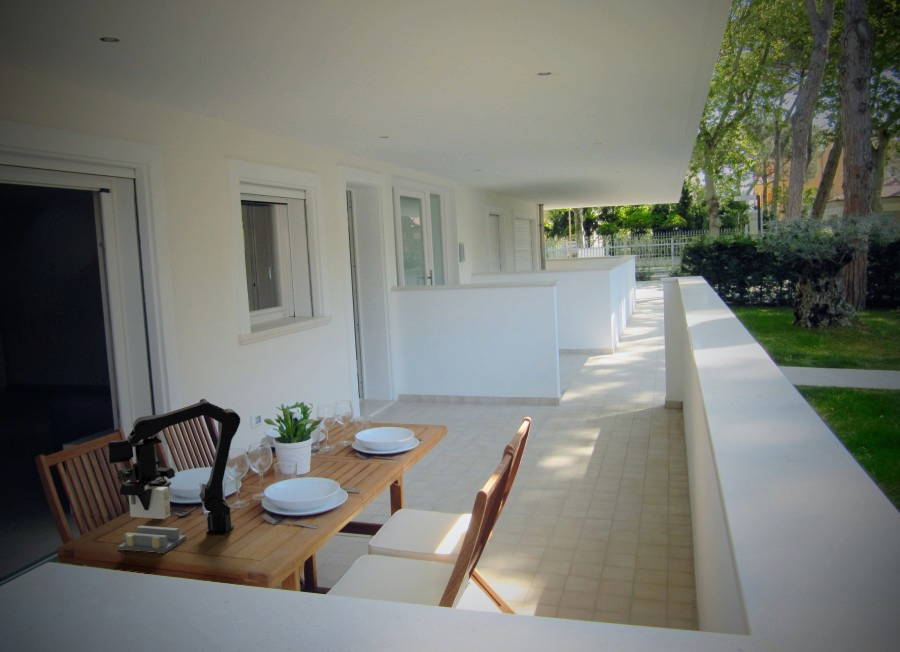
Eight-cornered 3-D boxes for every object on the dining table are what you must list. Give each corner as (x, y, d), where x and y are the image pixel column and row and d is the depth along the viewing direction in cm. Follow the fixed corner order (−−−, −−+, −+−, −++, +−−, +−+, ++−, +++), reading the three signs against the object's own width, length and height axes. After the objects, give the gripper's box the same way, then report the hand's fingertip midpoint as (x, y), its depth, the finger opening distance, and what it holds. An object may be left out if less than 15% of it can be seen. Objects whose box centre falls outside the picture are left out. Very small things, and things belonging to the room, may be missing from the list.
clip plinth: (186, 539, 219) (185, 526, 218) (163, 553, 208) (162, 540, 208) (142, 535, 223) (141, 523, 222) (118, 550, 212) (117, 536, 212)
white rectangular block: (172, 515, 215) (170, 487, 214) (164, 520, 211) (162, 491, 210) (137, 513, 218) (134, 485, 217) (128, 517, 214) (126, 489, 213)
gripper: (143, 449, 224) (147, 496, 225) (101, 466, 206) (106, 517, 207) (174, 450, 221) (177, 498, 223) (134, 468, 203) (138, 520, 205)
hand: (150, 508), depth 214 cm, fingers closed on white rectangular block, 3 cm apart
